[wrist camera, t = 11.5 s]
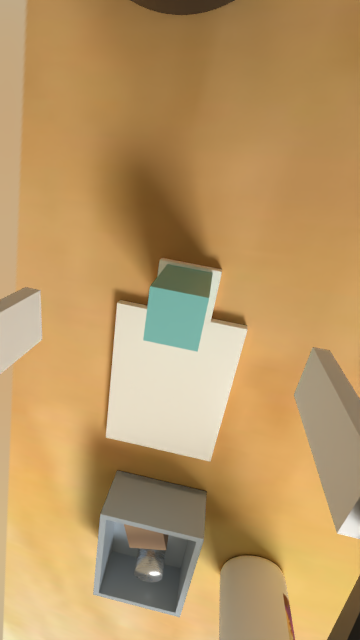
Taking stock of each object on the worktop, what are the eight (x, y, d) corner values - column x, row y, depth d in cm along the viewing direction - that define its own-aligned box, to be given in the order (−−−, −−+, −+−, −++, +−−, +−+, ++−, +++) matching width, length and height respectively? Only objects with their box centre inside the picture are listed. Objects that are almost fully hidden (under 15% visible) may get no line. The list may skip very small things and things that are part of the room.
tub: (117, 470, 34) (100, 513, 29) (206, 491, 33) (203, 539, 28) (108, 547, 39) (93, 594, 35) (184, 566, 39) (179, 617, 34)
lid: (124, 250, 24) (90, 270, 18) (260, 276, 24) (273, 307, 17) (108, 431, 32) (80, 490, 26) (210, 455, 31) (207, 520, 25)
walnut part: (131, 495, 34) (123, 522, 31) (166, 497, 33) (161, 524, 31) (136, 520, 35) (129, 547, 33) (170, 522, 35) (166, 550, 32)
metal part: (165, 538, 36) (161, 568, 33) (167, 553, 37) (163, 583, 34) (138, 536, 36) (132, 565, 33) (141, 551, 38) (136, 580, 35)
